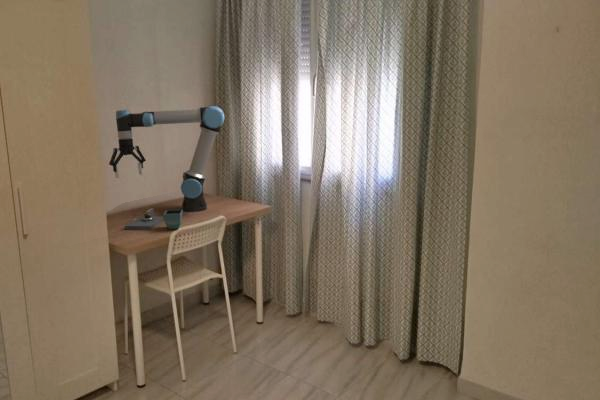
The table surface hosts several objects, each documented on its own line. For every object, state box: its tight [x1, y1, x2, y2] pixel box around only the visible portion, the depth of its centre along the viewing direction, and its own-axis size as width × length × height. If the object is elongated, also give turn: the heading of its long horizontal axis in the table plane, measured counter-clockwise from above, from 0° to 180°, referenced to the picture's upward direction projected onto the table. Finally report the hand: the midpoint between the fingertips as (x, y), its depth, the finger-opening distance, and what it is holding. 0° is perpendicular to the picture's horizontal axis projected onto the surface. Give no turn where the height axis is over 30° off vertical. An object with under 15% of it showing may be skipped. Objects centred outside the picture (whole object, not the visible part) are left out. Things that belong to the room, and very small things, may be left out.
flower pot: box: [163, 209, 183, 230], centre depth 267 cm, size 9×9×9 cm
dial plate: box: [124, 215, 164, 231], centre depth 274 cm, size 14×20×2 cm
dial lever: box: [142, 208, 155, 221], centre depth 278 cm, size 12×6×4 cm, turn 177°
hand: (129, 175), depth 285 cm, fingers open, 13 cm apart
